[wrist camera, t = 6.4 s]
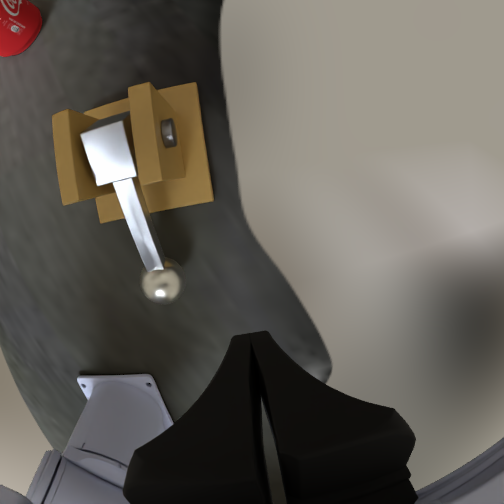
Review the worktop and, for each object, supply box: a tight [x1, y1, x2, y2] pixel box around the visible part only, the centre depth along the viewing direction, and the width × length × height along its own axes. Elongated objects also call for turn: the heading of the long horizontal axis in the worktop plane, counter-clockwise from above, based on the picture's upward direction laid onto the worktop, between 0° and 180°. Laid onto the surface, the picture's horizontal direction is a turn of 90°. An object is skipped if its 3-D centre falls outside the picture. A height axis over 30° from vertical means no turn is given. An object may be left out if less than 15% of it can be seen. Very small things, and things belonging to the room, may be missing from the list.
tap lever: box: [80, 111, 186, 304], centre depth 15 cm, size 12×3×3 cm, turn 8°
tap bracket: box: [52, 82, 214, 223], centre depth 14 cm, size 8×8×8 cm
